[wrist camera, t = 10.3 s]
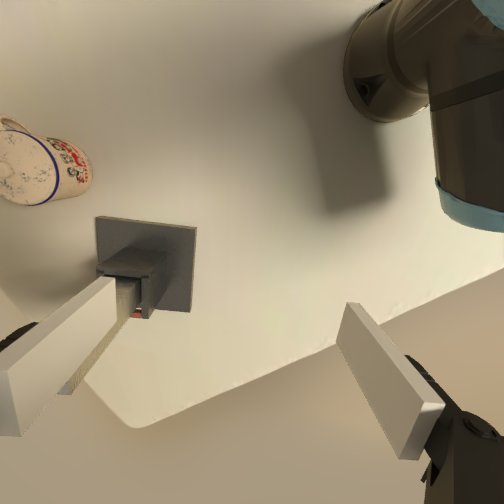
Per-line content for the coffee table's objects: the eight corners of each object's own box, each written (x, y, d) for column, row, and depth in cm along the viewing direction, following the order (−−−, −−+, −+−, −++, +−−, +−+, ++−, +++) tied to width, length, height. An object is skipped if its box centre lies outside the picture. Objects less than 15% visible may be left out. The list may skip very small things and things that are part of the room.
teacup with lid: (107, 181, 41) (56, 186, 30) (61, 208, 42) (-3, 222, 31) (55, 107, 37) (-23, 81, 26) (8, 138, 38) (-87, 125, 27)
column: (117, 269, 38) (14, 353, 21) (145, 272, 38) (66, 357, 21) (118, 298, 39) (23, 398, 22) (145, 300, 39) (71, 402, 22)
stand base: (101, 215, 42) (58, 230, 33) (196, 227, 44) (183, 244, 34) (105, 300, 47) (69, 334, 37) (191, 308, 49) (178, 344, 39)
